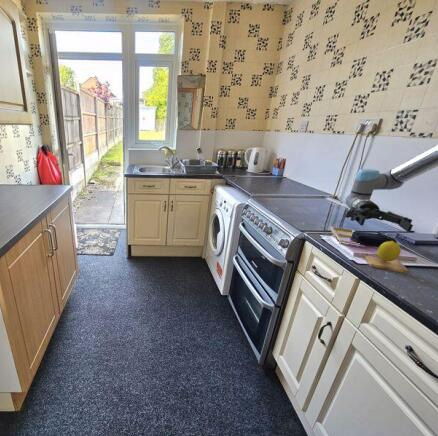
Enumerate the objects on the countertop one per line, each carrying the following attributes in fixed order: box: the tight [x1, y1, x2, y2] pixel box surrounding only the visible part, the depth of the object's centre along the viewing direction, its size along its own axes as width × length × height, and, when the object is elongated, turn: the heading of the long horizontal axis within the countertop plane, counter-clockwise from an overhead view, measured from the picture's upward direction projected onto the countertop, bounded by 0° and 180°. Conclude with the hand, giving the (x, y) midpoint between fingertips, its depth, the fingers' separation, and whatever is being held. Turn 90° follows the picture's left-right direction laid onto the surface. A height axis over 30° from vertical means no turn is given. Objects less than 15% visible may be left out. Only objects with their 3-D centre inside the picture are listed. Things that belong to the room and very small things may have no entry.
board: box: [364, 256, 410, 274], centre depth 87 cm, size 10×8×1 cm
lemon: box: [377, 240, 402, 262], centre depth 85 cm, size 6×6×8 cm
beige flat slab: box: [329, 225, 360, 245], centre depth 107 cm, size 9×17×1 cm, turn 156°
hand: (385, 225), depth 90 cm, fingers open, 13 cm apart
